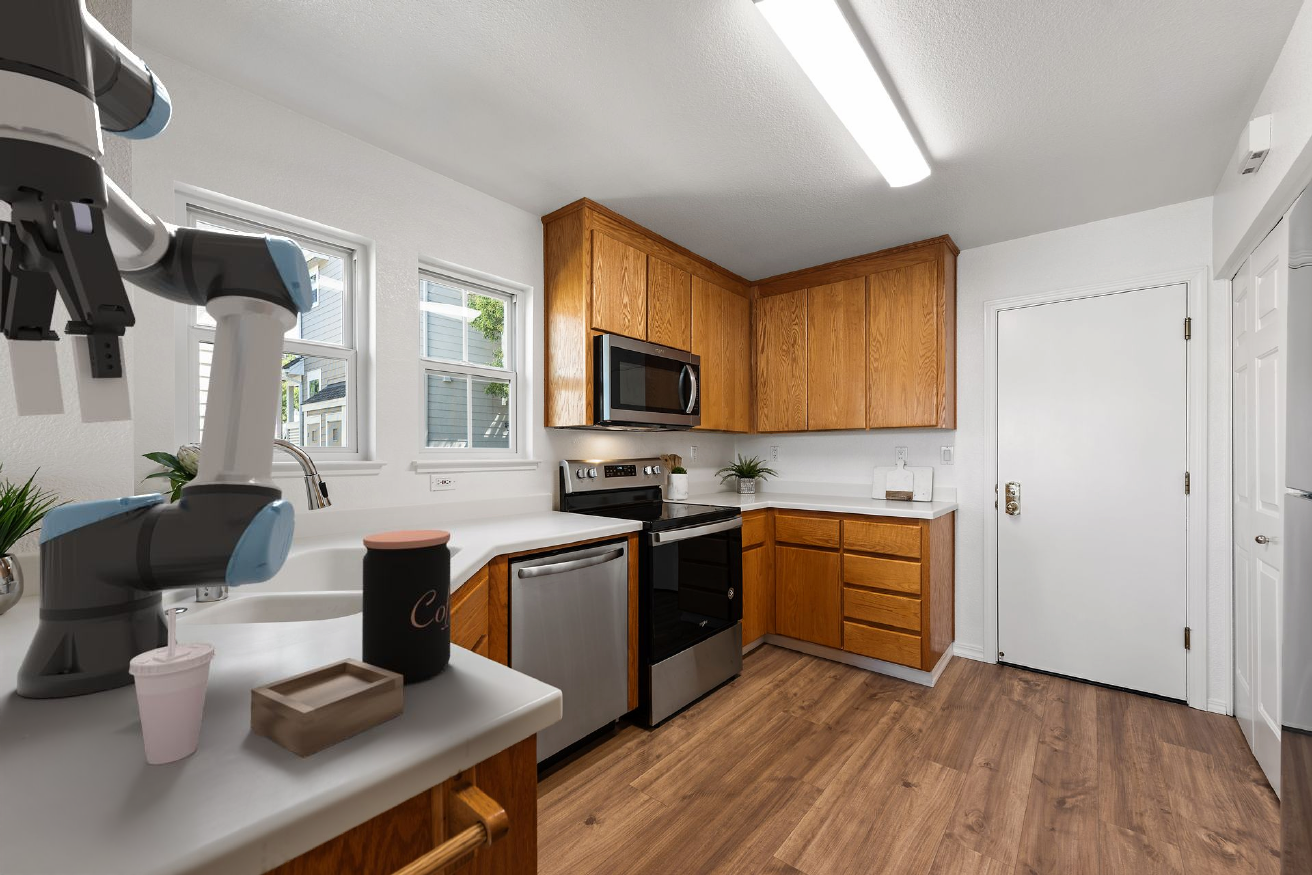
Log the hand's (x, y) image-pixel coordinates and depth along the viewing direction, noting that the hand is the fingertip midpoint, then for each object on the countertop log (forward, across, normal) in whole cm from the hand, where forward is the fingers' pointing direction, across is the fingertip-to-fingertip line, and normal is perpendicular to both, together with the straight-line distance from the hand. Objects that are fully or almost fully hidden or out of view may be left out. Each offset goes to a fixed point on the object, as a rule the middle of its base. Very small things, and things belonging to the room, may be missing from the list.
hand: (72, 418), depth 47 cm
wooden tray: (+34, +7, +15) cm, 38 cm away
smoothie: (+33, 0, +4) cm, 33 cm away
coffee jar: (+36, +3, +28) cm, 46 cm away
